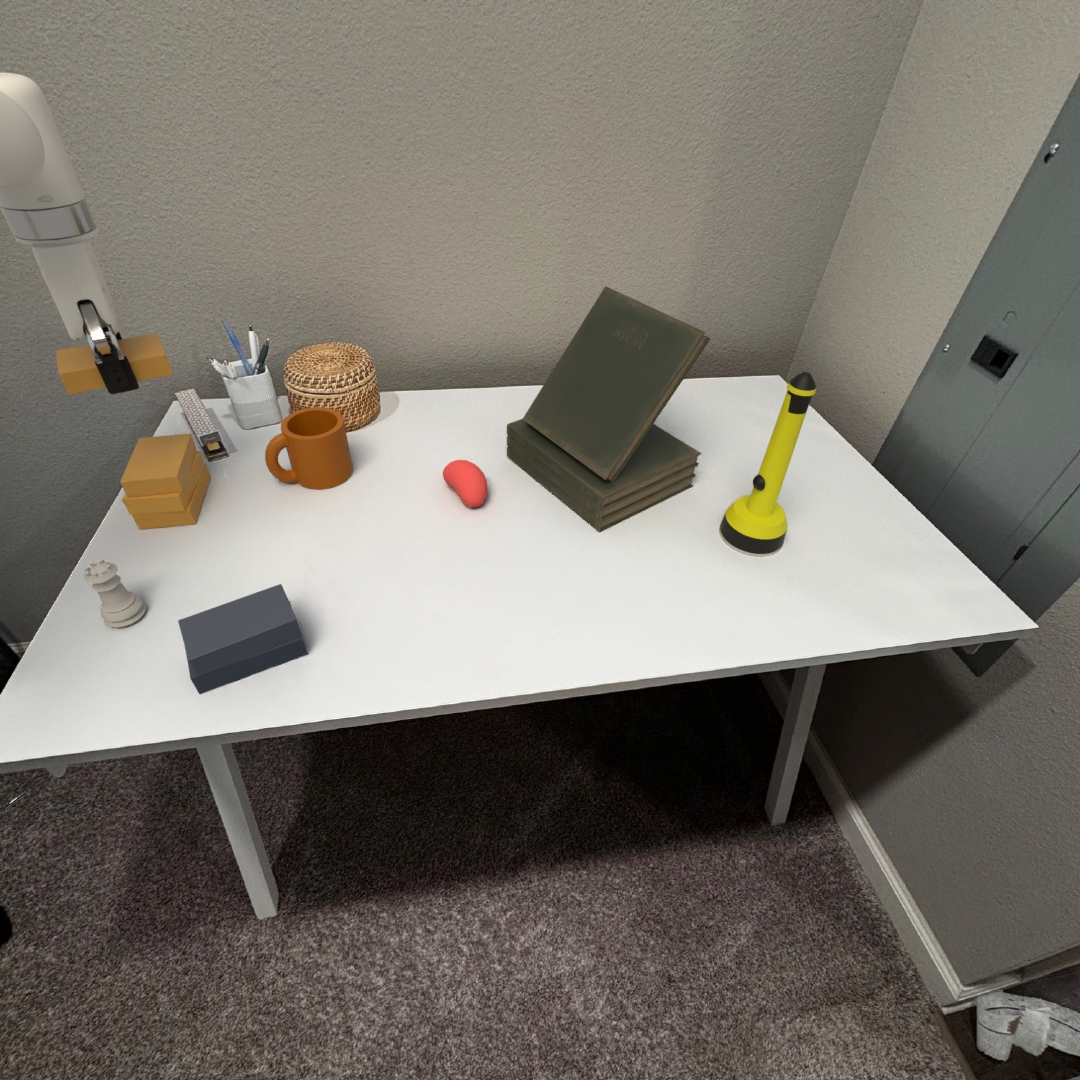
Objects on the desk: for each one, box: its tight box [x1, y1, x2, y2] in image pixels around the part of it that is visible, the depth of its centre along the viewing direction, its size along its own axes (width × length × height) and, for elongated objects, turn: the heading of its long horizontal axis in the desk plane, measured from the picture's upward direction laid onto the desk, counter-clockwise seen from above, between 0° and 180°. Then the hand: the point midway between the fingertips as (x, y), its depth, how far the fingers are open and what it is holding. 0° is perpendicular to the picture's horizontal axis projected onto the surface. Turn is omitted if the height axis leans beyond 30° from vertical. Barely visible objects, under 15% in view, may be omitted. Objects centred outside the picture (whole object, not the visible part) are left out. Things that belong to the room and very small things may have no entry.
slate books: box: [177, 583, 309, 695], centre depth 68 cm, size 12×7×6 cm, turn 119°
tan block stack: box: [119, 433, 212, 530], centre depth 87 cm, size 12×8×8 cm, turn 11°
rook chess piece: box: [83, 558, 147, 629], centre depth 71 cm, size 4×4×8 cm
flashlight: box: [718, 371, 817, 557], centre depth 81 cm, size 25×9×9 cm
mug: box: [264, 406, 354, 490], centre depth 93 cm, size 9×12×9 cm
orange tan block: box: [55, 332, 174, 396], centre depth 76 cm, size 11×7×3 cm, turn 122°
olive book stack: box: [506, 285, 711, 533], centre depth 91 cm, size 23×20×25 cm
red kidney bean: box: [442, 459, 489, 508], centre depth 92 cm, size 5×9×6 cm, turn 21°
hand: (120, 376), depth 77 cm, fingers closed on orange tan block, 7 cm apart
